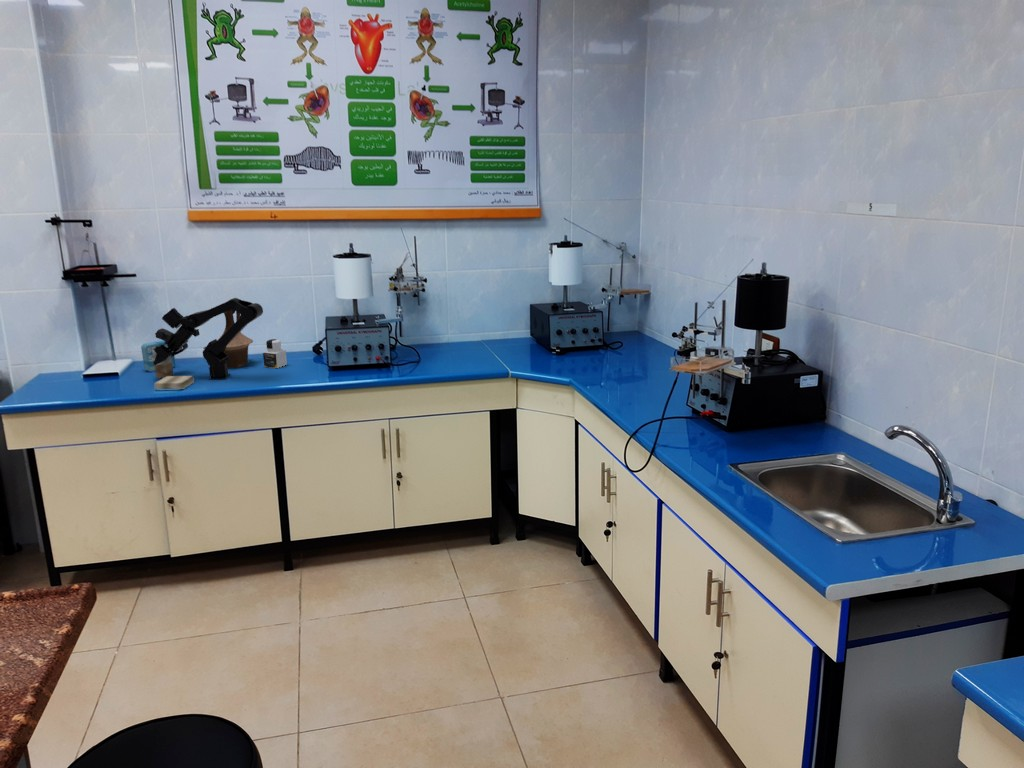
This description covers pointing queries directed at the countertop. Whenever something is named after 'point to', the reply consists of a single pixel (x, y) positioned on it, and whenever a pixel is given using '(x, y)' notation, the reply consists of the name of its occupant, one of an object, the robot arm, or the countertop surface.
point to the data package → (148, 355)
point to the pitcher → (236, 343)
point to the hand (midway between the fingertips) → (159, 361)
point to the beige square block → (174, 382)
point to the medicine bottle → (274, 354)
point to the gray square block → (163, 367)
